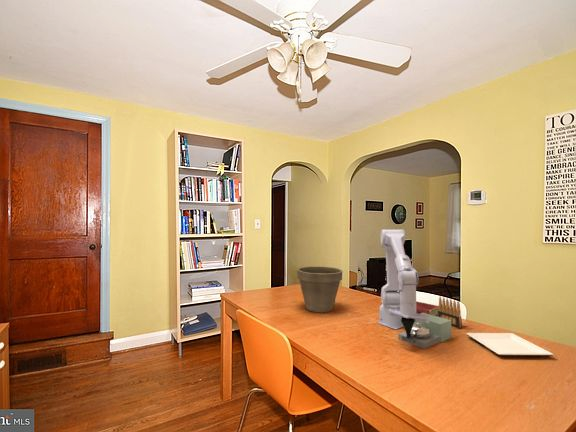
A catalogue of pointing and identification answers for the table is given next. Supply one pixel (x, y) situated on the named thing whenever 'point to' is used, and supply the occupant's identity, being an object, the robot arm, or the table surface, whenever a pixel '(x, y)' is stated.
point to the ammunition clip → (450, 312)
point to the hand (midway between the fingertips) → (408, 337)
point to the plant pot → (319, 287)
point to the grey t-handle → (417, 332)
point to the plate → (508, 344)
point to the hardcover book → (426, 308)
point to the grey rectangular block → (432, 331)
